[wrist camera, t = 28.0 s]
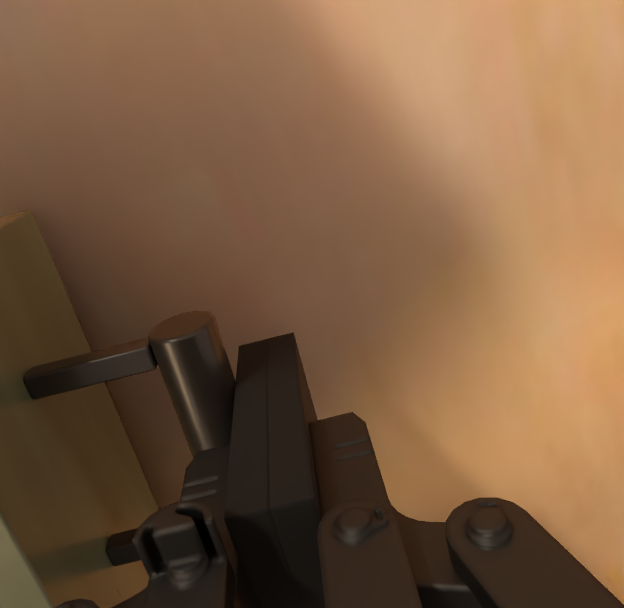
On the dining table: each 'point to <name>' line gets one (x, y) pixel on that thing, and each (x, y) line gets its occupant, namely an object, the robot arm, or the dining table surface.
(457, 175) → the dining table surface
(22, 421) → the drawer
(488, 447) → the dining table surface
